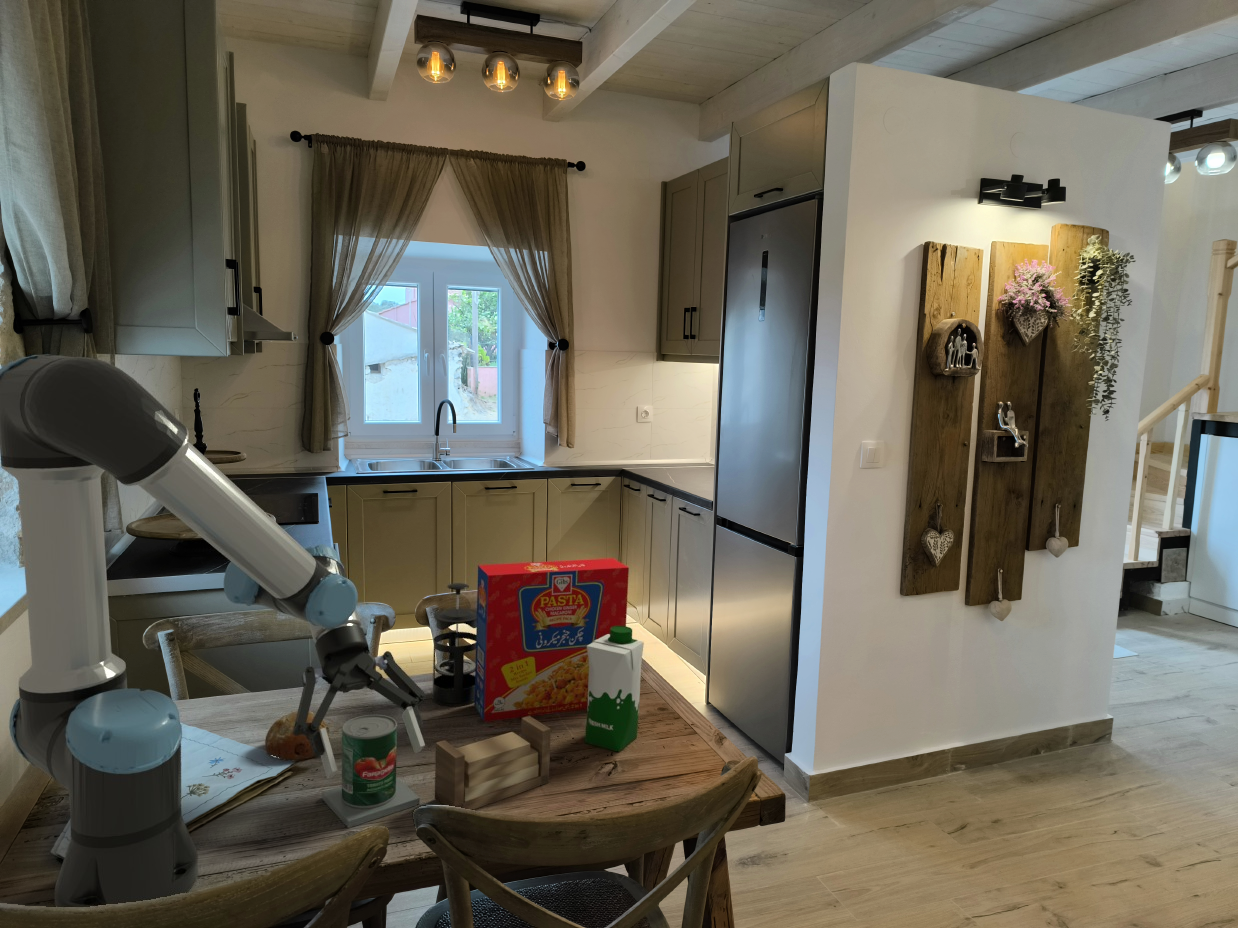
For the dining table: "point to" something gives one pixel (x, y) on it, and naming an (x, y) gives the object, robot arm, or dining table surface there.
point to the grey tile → (358, 815)
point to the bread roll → (290, 739)
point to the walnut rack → (452, 791)
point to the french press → (454, 656)
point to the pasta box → (542, 633)
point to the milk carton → (613, 689)
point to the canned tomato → (369, 761)
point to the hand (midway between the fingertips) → (377, 761)
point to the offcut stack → (497, 764)
